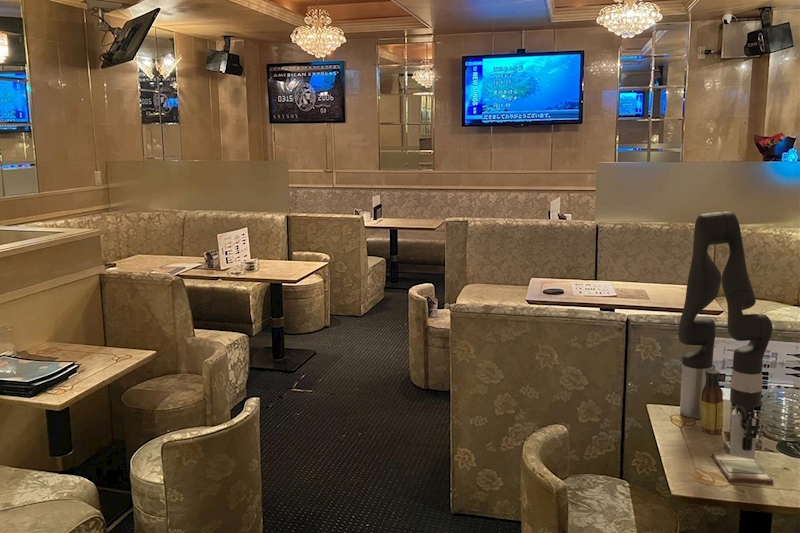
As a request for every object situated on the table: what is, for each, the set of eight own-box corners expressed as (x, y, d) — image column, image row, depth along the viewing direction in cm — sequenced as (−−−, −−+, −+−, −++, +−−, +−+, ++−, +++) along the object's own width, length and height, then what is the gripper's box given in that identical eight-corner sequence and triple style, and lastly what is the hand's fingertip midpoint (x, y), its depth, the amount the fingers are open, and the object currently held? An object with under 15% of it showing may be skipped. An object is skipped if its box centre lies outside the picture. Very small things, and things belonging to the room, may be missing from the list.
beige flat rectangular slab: (711, 456, 192) (711, 453, 192) (751, 458, 191) (752, 454, 191) (729, 482, 178) (729, 478, 178) (773, 483, 176) (773, 479, 176)
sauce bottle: (718, 427, 212) (721, 367, 209) (725, 435, 206) (729, 374, 203) (696, 427, 213) (699, 367, 210) (703, 435, 207) (706, 374, 204)
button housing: (723, 447, 198) (724, 441, 198) (745, 448, 197) (745, 442, 197) (730, 456, 192) (731, 450, 192) (752, 457, 191) (753, 451, 191)
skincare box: (754, 453, 183) (757, 412, 181) (754, 460, 180) (756, 418, 178) (730, 449, 186) (732, 409, 184) (729, 455, 183) (731, 414, 181)
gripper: (722, 377, 187) (719, 434, 190) (741, 395, 173) (737, 456, 176) (751, 377, 186) (747, 434, 189) (771, 396, 172) (767, 457, 175)
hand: (742, 444), depth 183 cm, fingers closed on skincare box, 5 cm apart
